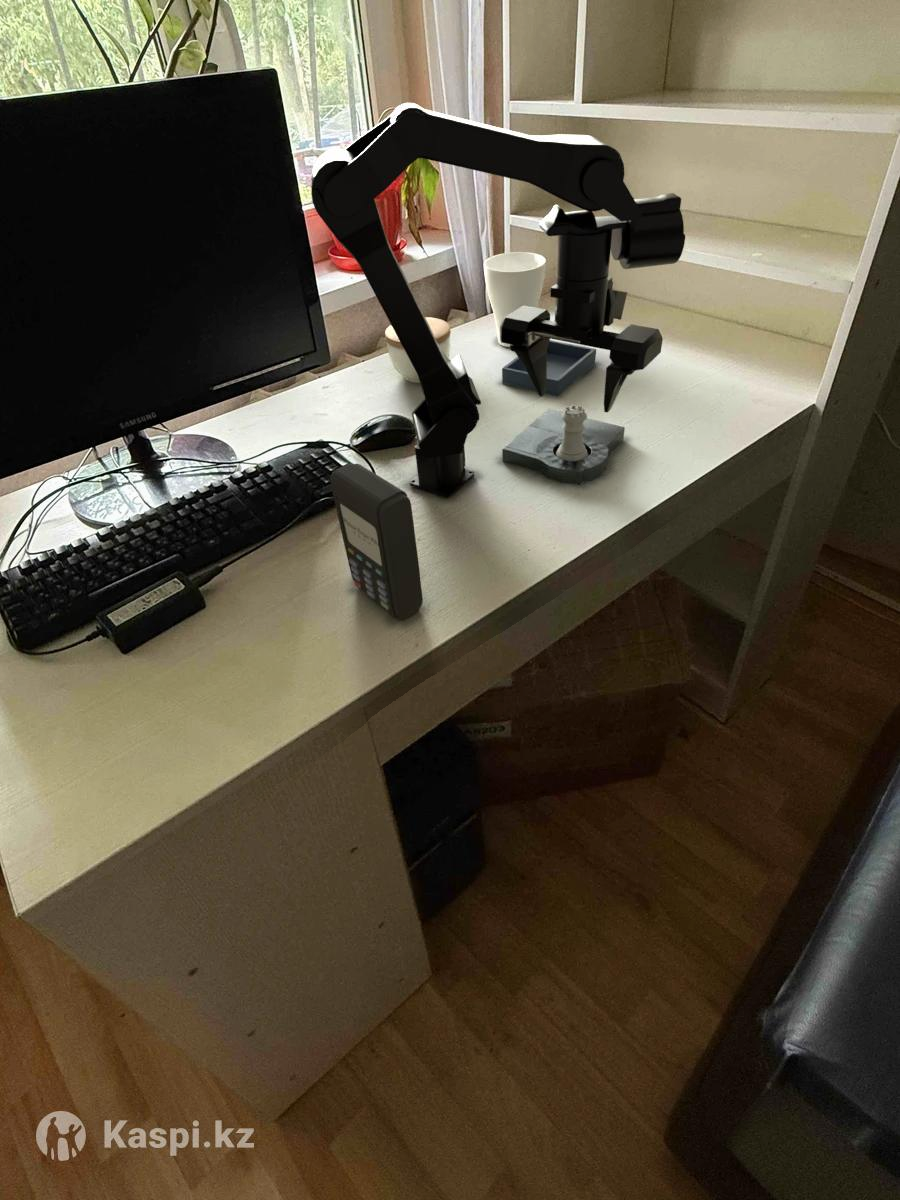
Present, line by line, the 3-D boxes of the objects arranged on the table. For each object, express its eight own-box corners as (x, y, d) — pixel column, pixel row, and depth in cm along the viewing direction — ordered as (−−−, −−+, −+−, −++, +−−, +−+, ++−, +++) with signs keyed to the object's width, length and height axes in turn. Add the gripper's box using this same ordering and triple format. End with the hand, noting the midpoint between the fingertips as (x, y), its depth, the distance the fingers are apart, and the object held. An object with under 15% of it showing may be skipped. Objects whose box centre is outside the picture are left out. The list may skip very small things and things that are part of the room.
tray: (557, 396, 107) (558, 380, 105) (502, 383, 112) (501, 368, 110) (595, 364, 115) (596, 348, 113) (541, 353, 119) (542, 338, 118)
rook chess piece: (587, 473, 91) (591, 418, 85) (553, 471, 91) (555, 417, 86) (588, 455, 94) (593, 401, 88) (556, 454, 95) (558, 400, 89)
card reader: (347, 586, 77) (321, 472, 67) (376, 569, 79) (355, 456, 69) (397, 626, 72) (378, 509, 62) (427, 607, 74) (412, 491, 63)
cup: (474, 342, 124) (470, 264, 115) (514, 325, 129) (513, 248, 120) (515, 358, 118) (515, 276, 109) (556, 339, 123) (559, 259, 114)
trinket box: (381, 386, 114) (373, 330, 107) (403, 359, 121) (396, 305, 115) (442, 391, 111) (437, 334, 105) (461, 363, 118) (457, 308, 112)
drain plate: (587, 490, 88) (588, 477, 86) (499, 464, 94) (499, 451, 92) (631, 442, 96) (633, 429, 94) (548, 420, 102) (548, 408, 100)
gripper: (690, 262, 77) (669, 392, 87) (543, 243, 85) (540, 364, 96) (651, 294, 70) (633, 431, 81) (496, 270, 79) (498, 397, 89)
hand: (574, 402), depth 87 cm, fingers open, 9 cm apart
